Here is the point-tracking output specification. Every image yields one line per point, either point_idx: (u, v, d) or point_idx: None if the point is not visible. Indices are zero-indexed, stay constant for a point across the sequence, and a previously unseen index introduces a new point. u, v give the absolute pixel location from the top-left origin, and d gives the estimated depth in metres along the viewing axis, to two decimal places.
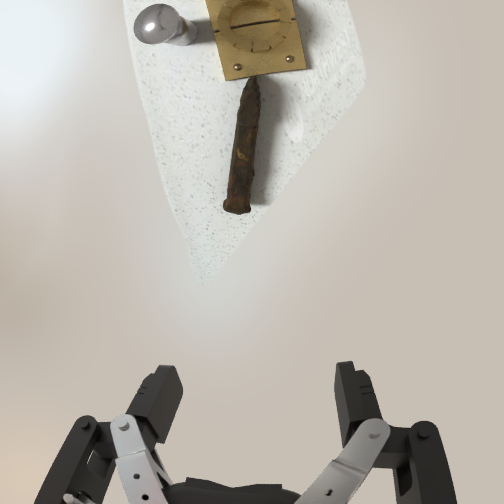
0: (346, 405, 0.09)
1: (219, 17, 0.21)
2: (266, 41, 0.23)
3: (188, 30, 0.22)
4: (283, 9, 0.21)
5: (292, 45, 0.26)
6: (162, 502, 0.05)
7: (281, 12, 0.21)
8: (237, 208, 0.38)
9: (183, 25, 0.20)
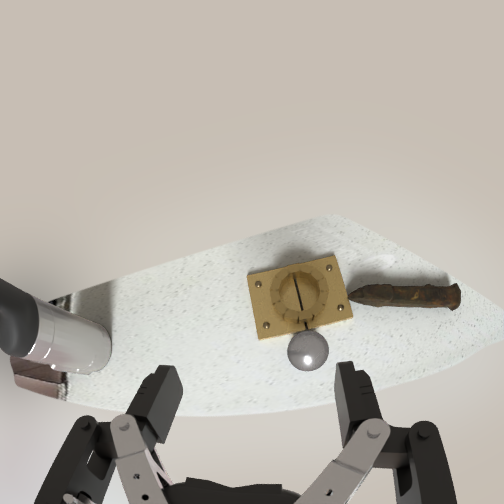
0: (346, 405, 0.09)
1: (296, 318, 0.36)
2: (319, 280, 0.37)
3: None
4: (287, 269, 0.39)
5: (317, 267, 0.41)
6: (162, 502, 0.05)
7: (290, 270, 0.39)
8: (456, 293, 0.33)
9: None
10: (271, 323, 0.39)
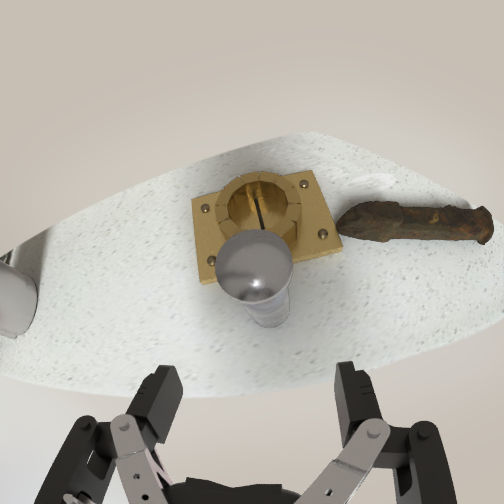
0: (346, 405, 0.09)
1: None
2: (286, 190, 0.26)
3: None
4: (241, 179, 0.27)
5: None
6: (162, 502, 0.05)
7: (246, 181, 0.27)
8: (486, 216, 0.22)
9: None
10: None
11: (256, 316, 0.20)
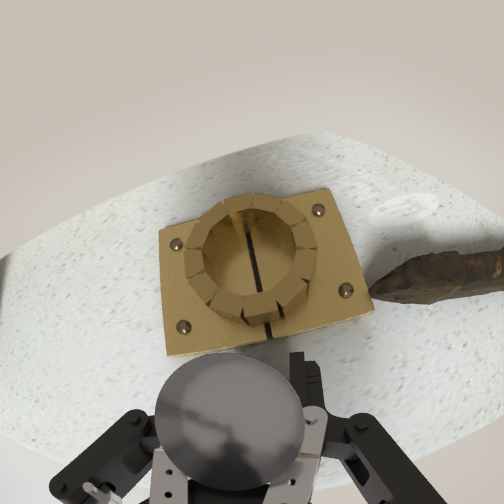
0: None
1: (238, 311, 0.15)
2: (294, 226, 0.17)
3: None
4: (225, 206, 0.18)
5: None
6: (162, 502, 0.05)
7: (231, 208, 0.18)
8: None
9: None
10: (194, 324, 0.18)
11: None
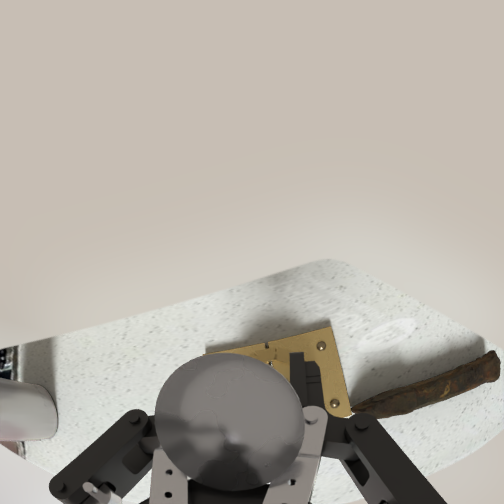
0: None
1: None
2: None
3: None
4: (257, 357, 0.25)
5: (303, 344, 0.27)
6: (162, 502, 0.05)
7: (261, 359, 0.25)
8: (495, 365, 0.19)
9: None
10: None
11: None
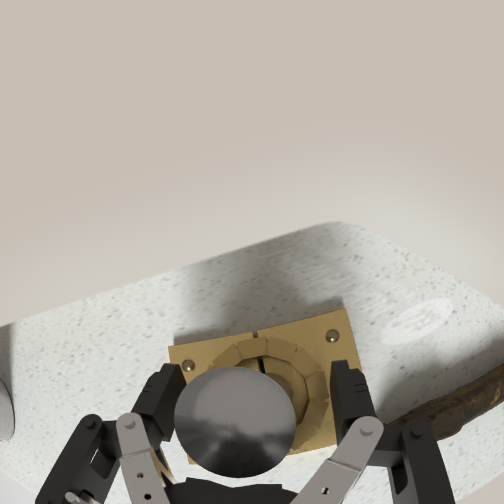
0: (340, 403, 0.09)
1: None
2: (308, 377, 0.15)
3: None
4: (239, 350, 0.17)
5: (307, 334, 0.19)
6: (162, 502, 0.05)
7: (245, 353, 0.17)
8: None
9: None
10: None
11: None
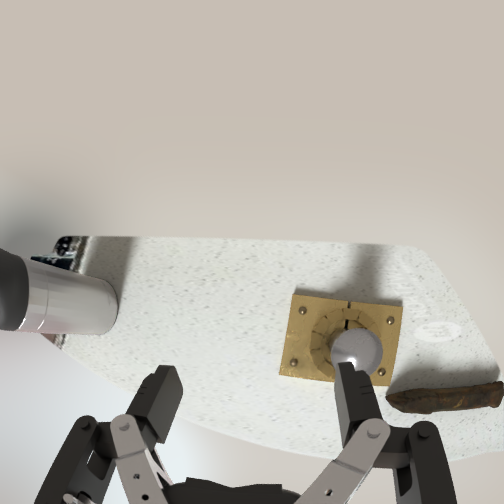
0: (346, 405, 0.09)
1: (329, 375, 0.27)
2: None
3: None
4: (343, 313, 0.28)
5: (377, 314, 0.30)
6: (162, 502, 0.05)
7: (346, 316, 0.28)
8: (499, 395, 0.21)
9: None
10: (300, 363, 0.31)
11: None
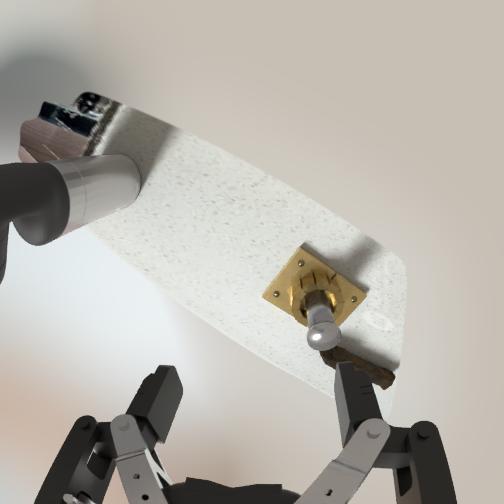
0: (346, 405, 0.09)
1: (297, 319, 0.41)
2: (336, 312, 0.40)
3: (330, 307, 0.38)
4: (328, 286, 0.39)
5: (348, 291, 0.42)
6: (162, 502, 0.05)
7: (328, 289, 0.39)
8: (388, 384, 0.45)
9: (331, 315, 0.36)
10: (280, 296, 0.43)
11: None
